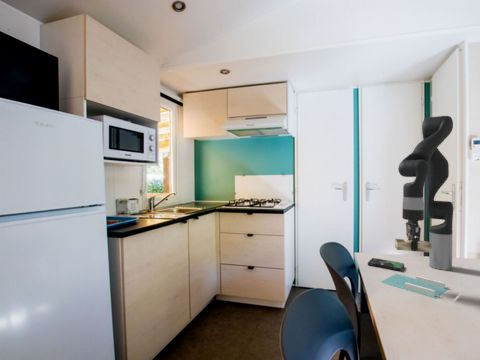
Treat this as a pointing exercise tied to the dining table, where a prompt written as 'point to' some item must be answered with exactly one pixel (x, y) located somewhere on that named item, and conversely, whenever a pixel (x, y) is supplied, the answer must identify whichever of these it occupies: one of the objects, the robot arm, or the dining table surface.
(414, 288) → the pair of grey bars
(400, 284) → the rubber mat
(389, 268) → the disk drive
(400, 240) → the tan rectangular block
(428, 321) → the dining table surface
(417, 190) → the robot arm
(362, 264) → the dining table surface
